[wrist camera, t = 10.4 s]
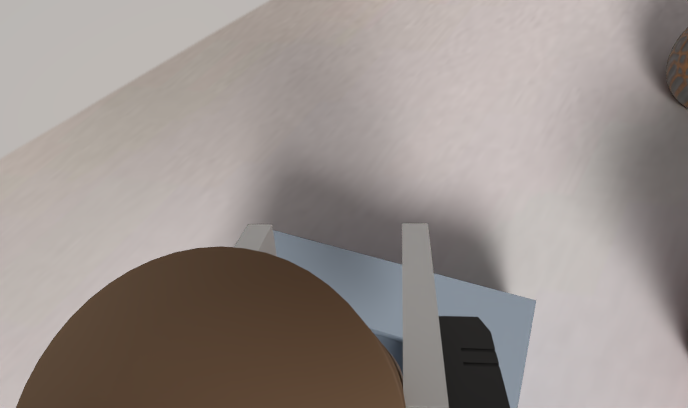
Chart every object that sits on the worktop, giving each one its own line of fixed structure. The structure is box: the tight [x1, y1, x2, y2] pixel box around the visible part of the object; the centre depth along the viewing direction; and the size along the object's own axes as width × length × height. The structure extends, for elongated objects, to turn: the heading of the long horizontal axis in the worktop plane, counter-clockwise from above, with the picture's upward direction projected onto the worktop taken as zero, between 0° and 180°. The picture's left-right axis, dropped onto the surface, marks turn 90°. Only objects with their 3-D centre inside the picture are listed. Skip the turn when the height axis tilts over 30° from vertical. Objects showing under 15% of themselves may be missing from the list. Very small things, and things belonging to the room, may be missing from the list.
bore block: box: [273, 230, 536, 408], centre depth 27 cm, size 16×13×6 cm
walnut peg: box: [16, 247, 406, 408], centre depth 11 cm, size 4×4×15 cm
